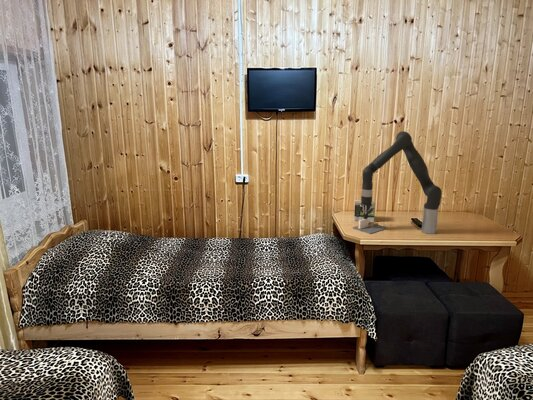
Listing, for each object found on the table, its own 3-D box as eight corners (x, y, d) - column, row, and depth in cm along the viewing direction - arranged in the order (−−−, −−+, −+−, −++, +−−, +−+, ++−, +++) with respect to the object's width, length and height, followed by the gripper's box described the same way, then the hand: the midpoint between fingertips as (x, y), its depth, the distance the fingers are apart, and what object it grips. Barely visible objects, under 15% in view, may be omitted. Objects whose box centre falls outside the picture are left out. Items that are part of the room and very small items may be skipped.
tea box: (373, 218, 297) (375, 200, 293) (374, 222, 287) (375, 203, 284) (354, 217, 300) (355, 199, 297) (353, 221, 291) (354, 202, 287)
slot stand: (371, 222, 284) (371, 220, 283) (378, 224, 279) (378, 222, 279) (365, 224, 280) (365, 222, 279) (371, 226, 275) (372, 224, 275)
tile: (366, 217, 276) (358, 220, 271) (368, 218, 274) (360, 220, 269) (365, 225, 277) (357, 228, 272) (368, 226, 276) (359, 228, 271)
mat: (370, 223, 286) (370, 222, 285) (388, 228, 273) (388, 227, 273) (352, 228, 274) (352, 227, 274) (370, 234, 261) (370, 233, 261)
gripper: (378, 196, 264) (376, 220, 268) (362, 192, 274) (361, 215, 278) (371, 197, 260) (369, 222, 264) (355, 194, 270) (354, 217, 274)
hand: (365, 218), depth 271 cm, fingers closed
